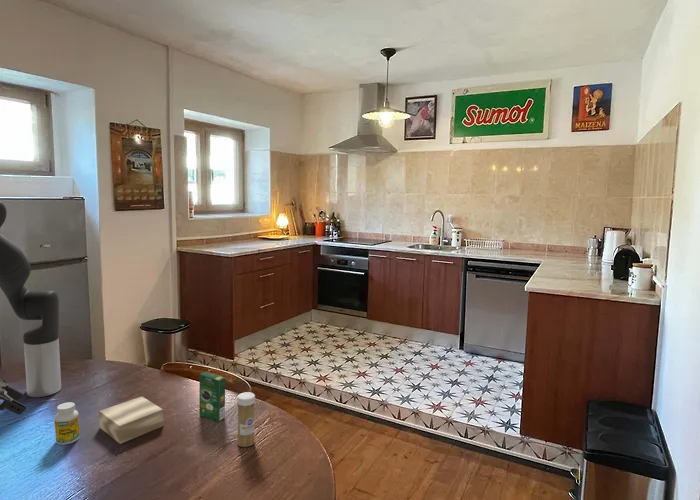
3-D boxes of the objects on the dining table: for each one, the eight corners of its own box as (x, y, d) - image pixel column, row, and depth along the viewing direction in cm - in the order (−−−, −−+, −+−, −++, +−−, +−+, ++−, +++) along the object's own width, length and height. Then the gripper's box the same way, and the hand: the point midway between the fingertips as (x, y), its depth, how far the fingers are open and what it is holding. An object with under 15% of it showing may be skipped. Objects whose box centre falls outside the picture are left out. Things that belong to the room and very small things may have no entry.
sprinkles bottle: (245, 449, 117) (245, 400, 115) (233, 443, 119) (233, 395, 118) (258, 441, 121) (258, 394, 119) (246, 436, 123) (246, 389, 121)
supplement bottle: (79, 432, 122) (77, 399, 121) (80, 441, 118) (78, 407, 117) (55, 437, 119) (53, 403, 118) (56, 447, 115) (53, 412, 114)
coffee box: (226, 418, 132) (226, 376, 130) (219, 423, 130) (219, 379, 128) (206, 412, 136) (205, 370, 134) (198, 416, 133) (198, 373, 131)
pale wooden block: (99, 427, 125) (99, 410, 124) (142, 412, 134) (141, 396, 134) (120, 443, 118) (119, 426, 117) (163, 426, 127) (163, 409, 126)
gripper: (-29, 366, 98) (38, 401, 107) (-31, 348, 109) (30, 381, 118) (-60, 396, 95) (11, 429, 104) (-59, 374, 106) (6, 406, 115)
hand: (21, 404), depth 111 cm, fingers open, 8 cm apart
